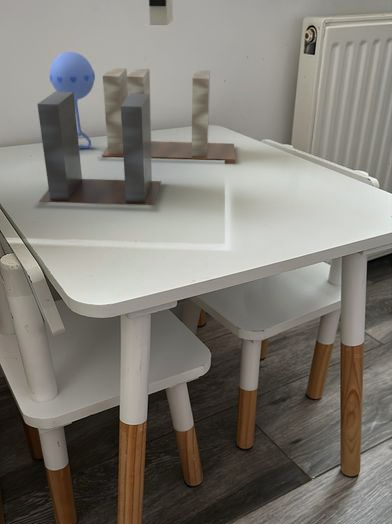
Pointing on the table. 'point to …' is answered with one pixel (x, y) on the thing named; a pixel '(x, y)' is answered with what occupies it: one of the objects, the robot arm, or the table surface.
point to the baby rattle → (73, 80)
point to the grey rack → (68, 157)
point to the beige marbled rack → (139, 83)
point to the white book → (161, 14)
